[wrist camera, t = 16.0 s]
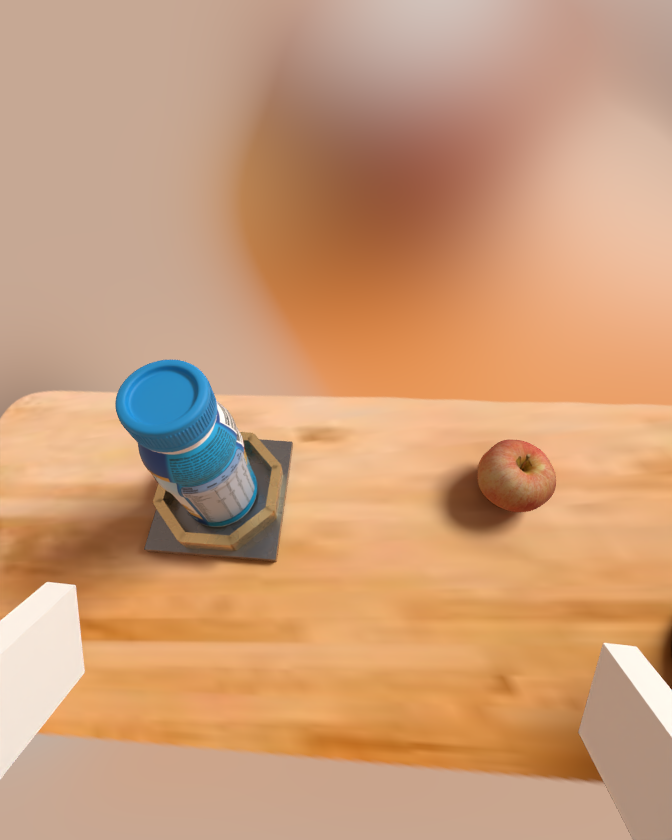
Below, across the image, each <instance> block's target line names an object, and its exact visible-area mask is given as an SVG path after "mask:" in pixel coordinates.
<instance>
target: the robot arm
mask: <svg viewBox="0 0 672 840" xmlns="http://www.w3.org/2000/svg"><path fill="white" fill-rule="evenodd" d="M84 673H85V671H84V661H83V652H82V642H81V632H80V622H79V613H78V603H77V593H76V585H71V584H62V583H53V582H46V583H45V584H44V585H43V586H41V587H40V588H39V589H38V590H37V591H35V592H34V593H33V594H32V595H31V596H29V597H28V598H27V599H26V600H25V601H23V602H22V603H21V604H20V605H19V606H17V607H16V608H15V609H14V610H13V611H11V612H10V613H9V614H8V615H7V616H5V617H4V618H3V619H2V620H1V621H0V779H1V778H2V776H3V775H4V774H5V773H6V771H7V770H8V769H9V768H10V766H11V765H12V764H13V763H14V761H15V760H16V759H17V757H18V756H19V755H20V754H21V752H22V751H23V750H24V748H25V747H26V746H27V745H28V743H29V742H30V741H31V740H32V738H33V737H34V736H35V735H36V733H37V732H38V731H39V730H40V728H41V727H42V726H43V725H44V723H45V722H46V721H47V720H48V718H49V717H50V716H51V714H52V713H53V712H54V711H55V709H56V708H57V707H58V706H59V704H60V703H61V702H62V701H63V699H64V698H65V697H66V695H67V694H68V693H69V692H70V690H71V689H72V688H73V687H74V685H75V684H76V683H77V682H78V680H79V679H80V678H81V676H82V675H83V674H84ZM578 733H579V735H580V737H581V739H582V741H583V743H584V744H585V746H586V748H587V750H588V752H589V754H590V756H591V758H592V760H593V762H594V764H595V766H596V768H597V770H598V772H599V774H600V776H601V778H602V780H603V782H604V784H605V786H606V788H607V789H608V792H609V793H610V795H611V797H612V799H613V801H614V803H615V805H616V807H617V809H618V811H619V813H620V815H621V817H622V819H623V821H624V823H625V825H626V827H627V829H628V831H629V833H630V835H631V837H632V838H633V840H672V690H671V688H670V687H669V686H668V685H667V683H666V682H665V681H664V680H663V679H662V677H661V676H660V675H659V674H658V672H657V671H656V670H655V669H654V668H653V666H652V665H651V664H650V663H649V661H648V660H647V659H646V658H645V657H644V655H643V654H642V653H641V652H640V650H639V649H638V648H637V647H636V646H627V645H618V644H609V643H603V646H602V649H601V653H600V656H599V660H598V663H597V667H596V671H595V674H594V678H593V681H592V685H591V689H590V692H589V696H588V699H587V703H586V706H585V710H584V714H583V717H582V721H581V724H580V728H579V732H578Z"/></svg>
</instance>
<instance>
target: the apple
mask: <svg viewBox="0 0 672 840" xmlns="http://www.w3.org/2000/svg"><path fill="white" fill-rule="evenodd" d="M478 484H479V487H480V490H481V492H482V493H483V494H484V496H485V497H486V498H487V499H488V500H489V501H491V502H492V503H493V504H495V505H496V506H498V507H501V508H503V509H505V510H508V511H512V512H526V511H531V510H534V509H536V508H538V507H540V506H541V505H543V504H544V503H545V502H547V501H548V500H549V499H550V497H551V496H552V495H553V493H554V491H555V487H556V475H555V472H554V469H553V467H552V465H551V463H550V461H549V460H548V458H547V457H546V455H545V454H544V453H543V452H542V451H541V450H540V449H538V448H537V447H535V446H534V445H532V444H530V443H527V442H524V441H520V440H504V441H501V442H499V443H497V444H496V445H494V446H493V447H492V448H491V449H490V450H489V451H488V452H486V453H485V454H484V455H483V457H482V458H481V460H480V462H479V466H478Z"/></svg>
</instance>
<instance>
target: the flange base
mask: <svg viewBox="0 0 672 840" xmlns="http://www.w3.org/2000/svg"><path fill="white" fill-rule="evenodd" d="M240 434H241V436H242V439H243V442H244V449H245V452H246V455H247V458H248V460H249V463H250V466H251V468H252V470H253V472H254V475H255V477H256V481H257V495H256V499H255V502H254V504H253V506H252V507H251V509H250V510H249V511H248V513H247V514H246V515H245V516H243V517H242V518H241V519H240V520H238V521H236V522H234V523H232V524H230V525H226V526H221V527H211V526H206V525H203V524H201V523H199V522H197V521H196V520H195V519H193V518H192V517H191V516H190V514H189V513H188V512H187V511H186V509H185V507H184V506H183V505H182V504H181V503H180V502H179V501H178V500H177V499H176V498H175V497H174V496H173V495H172V494H171V493H170V492H168V491H166V490H165V489H164V488H163V487H161V486H160V485H159V483H158V486H157V489H156V493H155V496H154V499H153V504H154V506H155V507H156V512H155V515H154V519H153V522H152V525H151V528H150V532H149V535H148V538H147V542H146V545H145V548H144V550H146V551H148V552H160V553H172V554H185V555H198V556H211V557H224V558H236V559H249V560H262V561H275V562H277V555H278V548H279V541H280V534H281V527H282V520H283V513H284V506H285V499H286V492H287V484H288V477H289V470H290V463H291V456H292V449H293V443H292V442H287V441H273V440H259V439H258V438H257V436H256V435H255V434H253V433H245V432H240Z"/></svg>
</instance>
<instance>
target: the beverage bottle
mask: <svg viewBox="0 0 672 840" xmlns="http://www.w3.org/2000/svg"><path fill="white" fill-rule="evenodd" d="M116 412H117V415H118V418H119V419H120V422H121V424H122V425H123V426H124V428H125V429H126V430H127V431H128V432H129V433H130V435H131V436H132V437H133V438H134V439H135V440H136V441H137V442H138V447H139V453H140V456H141V459H142V461H143V463H144V465H145V467H146V468H147V469H148V470H149V471H150V472H151V473H152V475H153V477H154V478H155V480H156V481H157V482H158V483H159V485H160V486H161V487H163V488H164V489H165V490H166V491H168V492H170V493H171V494H172V495H173V496H174V497H175V498H176V499H177V500H178V501H179V502H180V503H181V504H182V505H183V506H184V507H185V509H186V511H187V512H188V513H189V514H190V516H191V517H192V518H193V519H195V520H196V521H197V522H199V523H201V524H203V525H206V526H211V527H221V526H226V525H230V524H232V523H234V522H236V521H238V520H240V519H241V518H242V517H243V516H245V515H246V514H247V513H248V511H249V510H250V509H251V507H252V506H253V504H254V502H255V499H256V495H257V481H256V477H255V475H254V472H253V470H252V468H251V466H250V463H249V460H248V458H247V455H246V452H245V449H244V442H243V439H242V436H241V434H240V432H239V430H238V428H237V427H236V424H235V421H234V419H233V417H232V416H231V414H230V413H229V412H228V410H227V409H226V408H225V407H224V406H222V405H221V404H220V403H219V402H217V401H216V399H215V396H214V393H213V391H212V388H211V386H210V384H209V381H208V380H207V378H206V376H204V374H203V373H202V372H201V371H200V370H199V369H198V368H197V367H195V366H194V365H192V364H189V363H187V362H184V361H180V360H161V361H157V362H153V363H150V364H147V365H145V366H143V367H141V368H139V369H138V370H136V371H135V372H133V373H132V374H131V375H130V376H129V377H128V378H127V379H126V380H125V381H124V382H123V384H122V385H121V387H120V389H119V391H118V393H117V397H116Z"/></svg>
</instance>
